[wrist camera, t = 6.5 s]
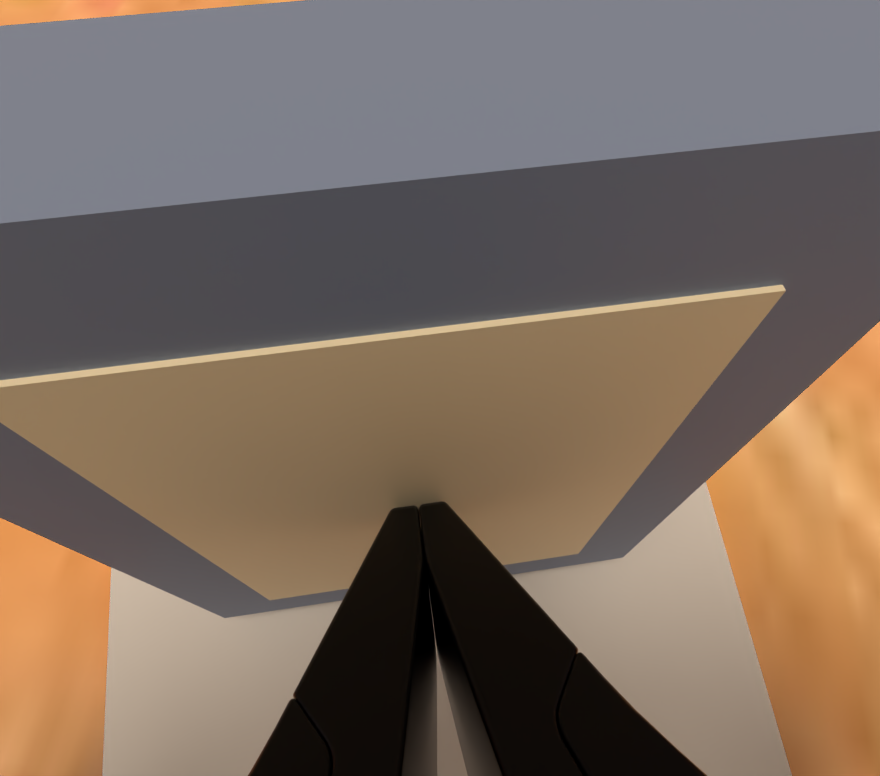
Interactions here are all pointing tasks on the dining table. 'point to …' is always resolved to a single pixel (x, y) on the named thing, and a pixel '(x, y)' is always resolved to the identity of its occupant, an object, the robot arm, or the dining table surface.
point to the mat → (555, 590)
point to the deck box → (417, 271)
